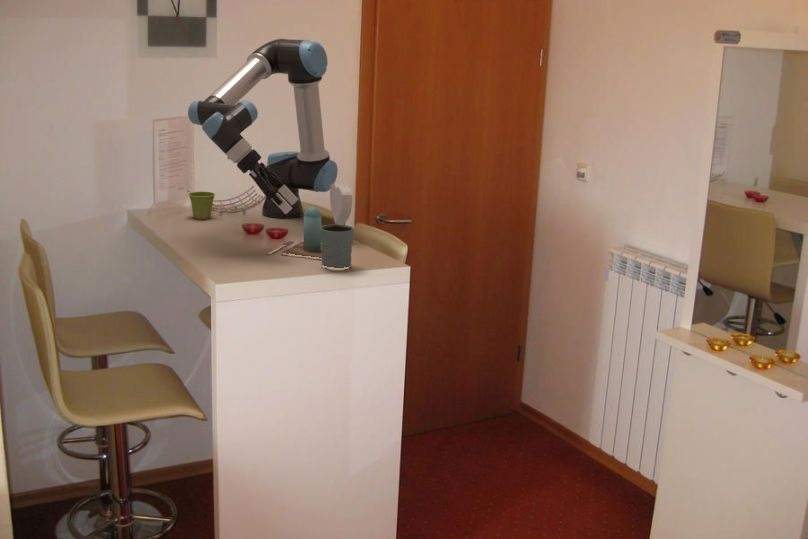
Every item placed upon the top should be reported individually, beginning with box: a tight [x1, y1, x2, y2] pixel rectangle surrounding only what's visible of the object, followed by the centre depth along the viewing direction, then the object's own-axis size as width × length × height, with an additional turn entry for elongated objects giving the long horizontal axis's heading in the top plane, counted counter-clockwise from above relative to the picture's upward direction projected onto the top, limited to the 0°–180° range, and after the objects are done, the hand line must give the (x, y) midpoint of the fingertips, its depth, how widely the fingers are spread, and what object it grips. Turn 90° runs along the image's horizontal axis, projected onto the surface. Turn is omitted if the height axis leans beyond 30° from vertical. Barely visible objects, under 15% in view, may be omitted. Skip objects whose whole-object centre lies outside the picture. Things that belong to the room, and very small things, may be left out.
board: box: [281, 241, 322, 258], centre depth 293 cm, size 16×14×1 cm
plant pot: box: [187, 191, 216, 220], centre depth 332 cm, size 9×9×9 cm
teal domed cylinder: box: [302, 206, 322, 252], centre depth 291 cm, size 6×6×14 cm
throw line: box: [282, 240, 294, 246], centre depth 296 cm, size 18×2×1 cm, turn 163°
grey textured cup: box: [320, 224, 355, 268], centre depth 276 cm, size 10×10×12 cm
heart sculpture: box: [329, 183, 353, 225], centre depth 311 cm, size 16×5×18 cm, turn 19°
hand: (292, 206), depth 289 cm, fingers open, 13 cm apart
